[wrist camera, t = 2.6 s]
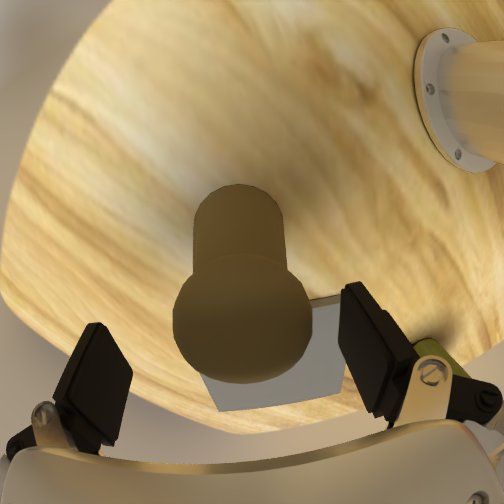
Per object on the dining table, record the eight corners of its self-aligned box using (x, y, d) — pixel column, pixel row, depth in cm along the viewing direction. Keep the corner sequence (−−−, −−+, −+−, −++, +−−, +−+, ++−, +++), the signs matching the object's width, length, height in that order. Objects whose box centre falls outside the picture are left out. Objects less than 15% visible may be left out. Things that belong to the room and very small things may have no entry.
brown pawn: (280, 267, 20) (317, 398, 10) (196, 268, 19) (171, 402, 9) (286, 184, 17) (354, 277, 7) (190, 185, 17) (132, 280, 7)
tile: (349, 292, 21) (353, 300, 20) (338, 386, 28) (340, 392, 27) (181, 319, 21) (179, 327, 20) (219, 404, 28) (219, 411, 27)
